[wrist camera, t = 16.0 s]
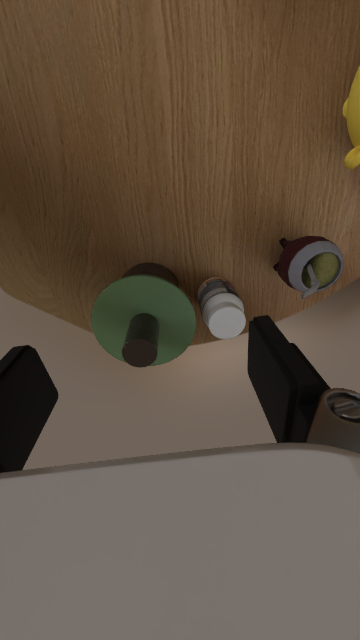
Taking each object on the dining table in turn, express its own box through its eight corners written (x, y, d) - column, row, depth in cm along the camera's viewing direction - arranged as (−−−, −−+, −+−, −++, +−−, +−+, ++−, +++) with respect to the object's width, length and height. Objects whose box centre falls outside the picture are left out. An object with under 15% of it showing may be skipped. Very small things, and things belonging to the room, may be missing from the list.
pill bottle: (237, 299, 39) (257, 331, 30) (205, 314, 40) (215, 349, 32) (224, 269, 36) (241, 295, 28) (190, 286, 38) (197, 316, 29)
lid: (71, 314, 29) (47, 347, 23) (149, 249, 26) (143, 268, 20) (142, 374, 34) (136, 413, 29) (214, 327, 31) (225, 360, 25)
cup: (106, 288, 37) (89, 316, 29) (152, 249, 35) (148, 268, 27) (147, 328, 41) (142, 362, 33) (192, 296, 38) (198, 325, 31)
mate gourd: (323, 255, 36) (411, 296, 23) (278, 289, 38) (334, 343, 25) (299, 216, 33) (384, 237, 20) (252, 255, 36) (300, 296, 23)
